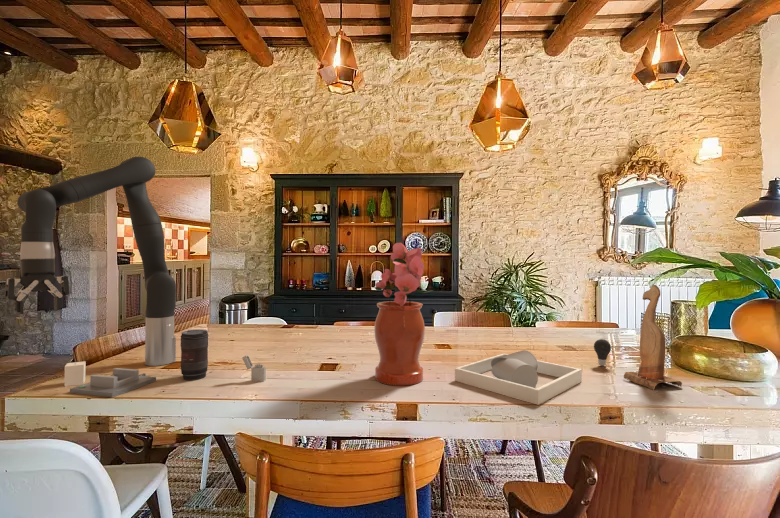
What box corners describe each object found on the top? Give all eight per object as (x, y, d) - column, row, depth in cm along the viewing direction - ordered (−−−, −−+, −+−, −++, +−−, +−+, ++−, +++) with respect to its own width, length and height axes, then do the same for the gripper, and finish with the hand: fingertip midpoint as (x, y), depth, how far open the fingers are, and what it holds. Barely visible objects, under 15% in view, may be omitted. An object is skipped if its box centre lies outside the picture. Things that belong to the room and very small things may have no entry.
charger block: (67, 382, 120) (67, 362, 120) (85, 380, 123) (85, 361, 123) (64, 386, 116) (64, 366, 116) (83, 384, 119) (83, 364, 119)
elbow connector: (476, 370, 133) (505, 389, 113) (483, 340, 133) (513, 354, 114) (522, 379, 136) (557, 399, 117) (528, 349, 137) (565, 365, 117)
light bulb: (590, 364, 146) (590, 337, 146) (604, 364, 147) (604, 337, 147) (599, 368, 141) (599, 340, 141) (614, 368, 141) (614, 340, 141)
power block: (125, 374, 129) (125, 362, 129) (163, 378, 125) (163, 365, 125) (69, 392, 111) (69, 378, 111) (112, 397, 108) (112, 382, 108)
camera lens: (176, 381, 122) (176, 334, 122) (185, 374, 130) (186, 329, 130) (203, 380, 123) (204, 333, 123) (211, 373, 131) (211, 329, 131)
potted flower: (425, 366, 142) (426, 243, 142) (437, 389, 116) (438, 240, 116) (373, 366, 141) (374, 242, 141) (374, 390, 115) (375, 239, 115)
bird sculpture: (647, 376, 131) (648, 283, 131) (683, 387, 120) (684, 285, 120) (622, 379, 127) (623, 283, 128) (657, 391, 116) (657, 285, 116)
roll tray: (503, 364, 146) (503, 353, 146) (581, 381, 125) (581, 369, 125) (454, 380, 125) (454, 368, 125) (538, 405, 105) (538, 390, 105)
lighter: (265, 380, 124) (266, 355, 124) (263, 381, 122) (263, 356, 122) (244, 379, 125) (244, 354, 125) (241, 381, 123) (242, 356, 123)
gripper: (61, 257, 123) (62, 308, 123) (0, 257, 111) (1, 314, 111) (72, 257, 119) (73, 309, 120) (10, 257, 107) (12, 316, 107)
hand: (39, 311), depth 115 cm, fingers open, 8 cm apart
